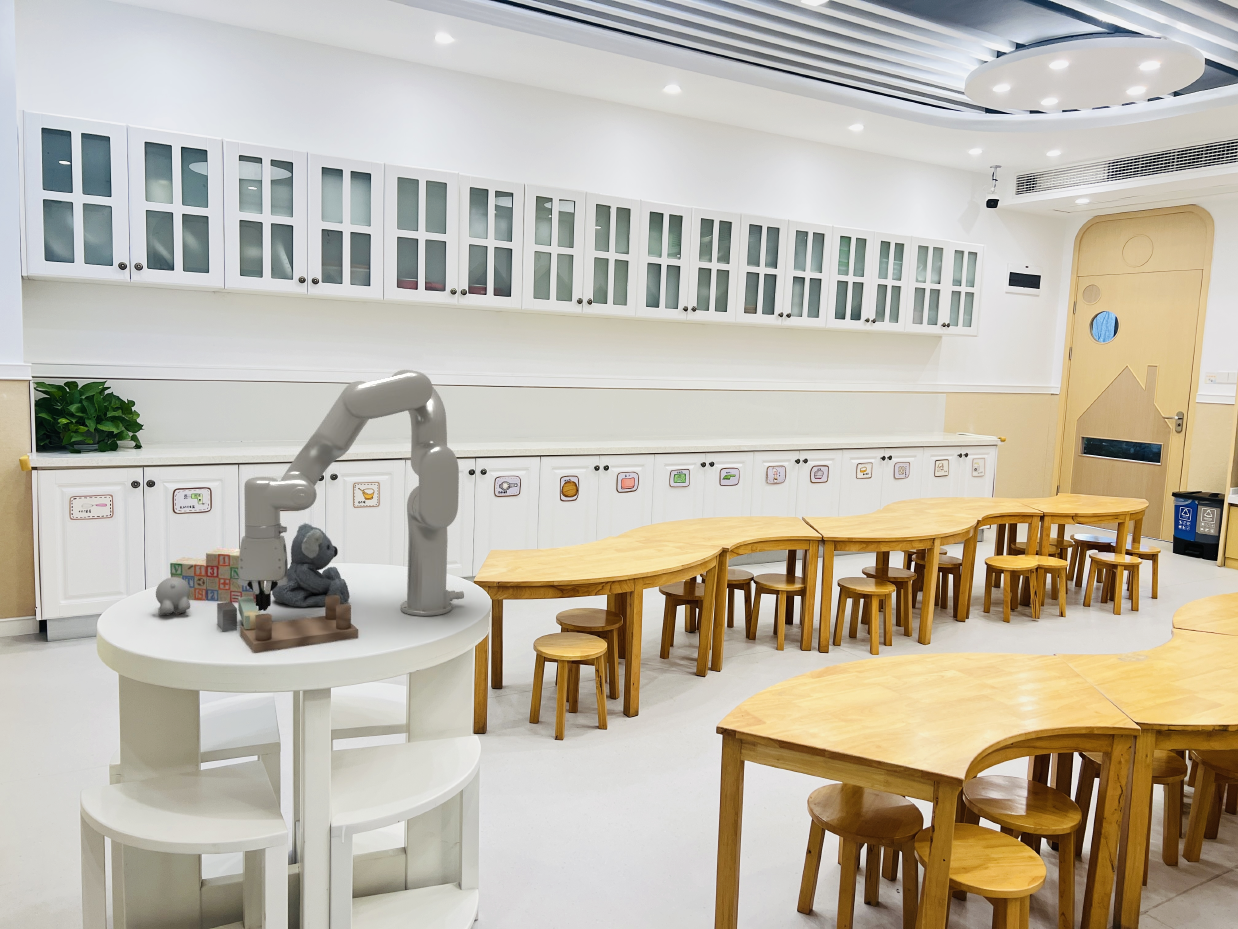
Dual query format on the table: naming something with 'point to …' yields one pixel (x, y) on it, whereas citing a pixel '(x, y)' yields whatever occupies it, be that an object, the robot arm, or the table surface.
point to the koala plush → (311, 571)
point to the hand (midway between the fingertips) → (263, 609)
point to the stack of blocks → (213, 576)
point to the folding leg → (247, 611)
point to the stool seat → (301, 629)
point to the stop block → (226, 616)
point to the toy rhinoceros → (173, 596)
